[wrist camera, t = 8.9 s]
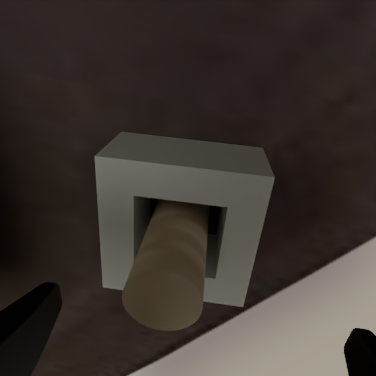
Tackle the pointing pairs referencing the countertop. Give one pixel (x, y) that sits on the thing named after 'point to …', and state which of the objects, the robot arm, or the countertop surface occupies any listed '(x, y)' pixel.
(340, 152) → the countertop surface
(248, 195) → the socket block
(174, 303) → the peg
